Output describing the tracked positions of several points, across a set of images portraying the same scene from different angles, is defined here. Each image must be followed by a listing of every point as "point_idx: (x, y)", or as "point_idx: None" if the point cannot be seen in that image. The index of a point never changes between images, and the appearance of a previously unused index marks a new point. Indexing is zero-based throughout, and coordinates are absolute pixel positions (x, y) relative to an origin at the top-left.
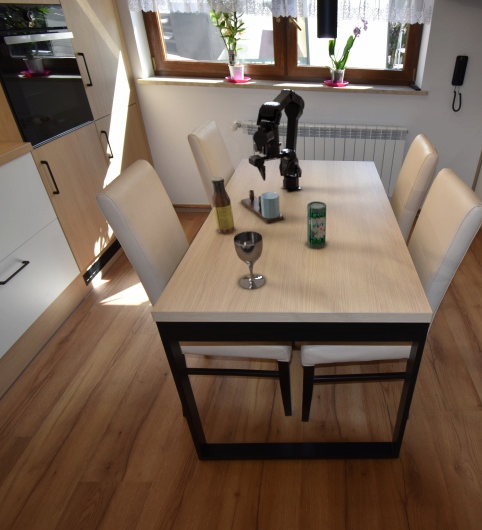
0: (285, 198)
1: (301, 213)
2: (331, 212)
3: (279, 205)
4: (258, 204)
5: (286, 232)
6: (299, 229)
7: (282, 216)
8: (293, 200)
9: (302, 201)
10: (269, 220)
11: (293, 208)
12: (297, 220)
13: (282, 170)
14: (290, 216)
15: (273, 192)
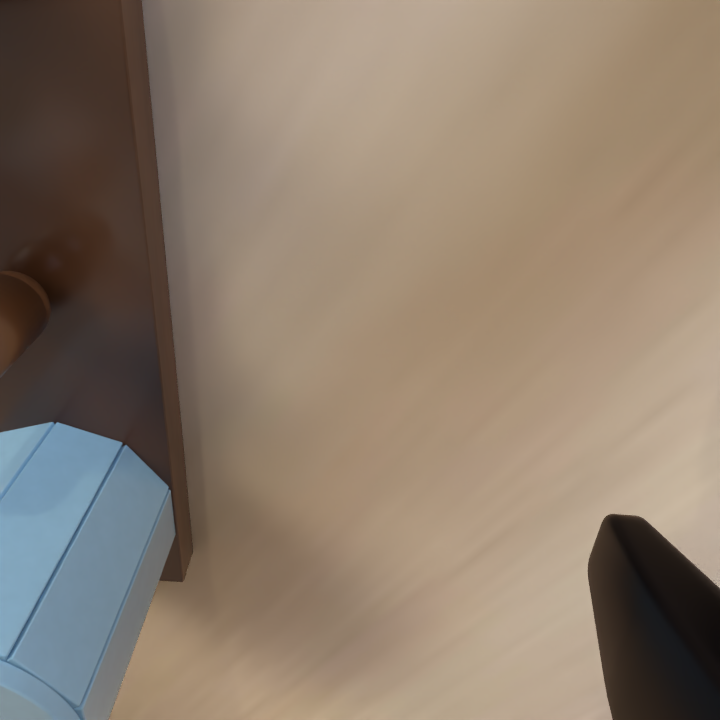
0: (595, 103)
1: (423, 554)
2: None
3: (140, 627)
4: (18, 177)
5: None
6: (222, 710)
7: (175, 577)
8: (625, 246)
9: (685, 344)
10: None
11: (439, 433)
12: (297, 622)
13: (685, 648)
14: (288, 544)
15: (34, 706)
